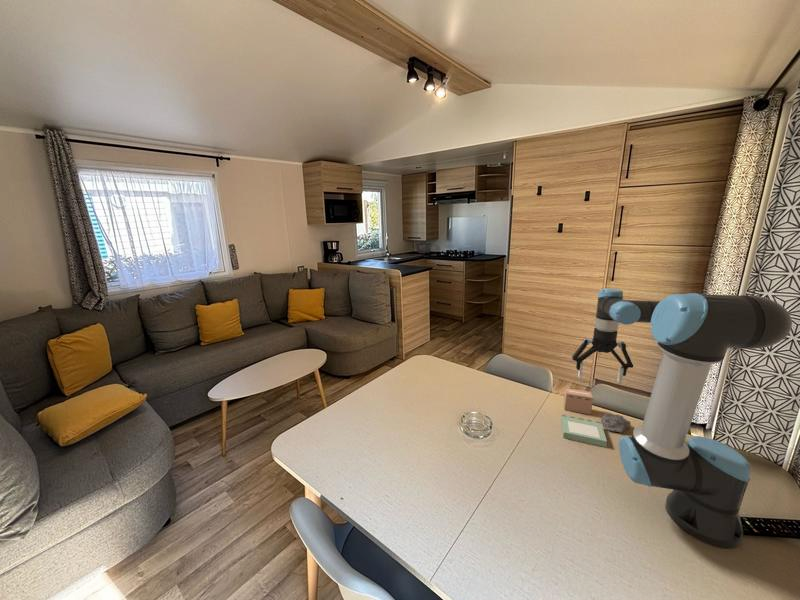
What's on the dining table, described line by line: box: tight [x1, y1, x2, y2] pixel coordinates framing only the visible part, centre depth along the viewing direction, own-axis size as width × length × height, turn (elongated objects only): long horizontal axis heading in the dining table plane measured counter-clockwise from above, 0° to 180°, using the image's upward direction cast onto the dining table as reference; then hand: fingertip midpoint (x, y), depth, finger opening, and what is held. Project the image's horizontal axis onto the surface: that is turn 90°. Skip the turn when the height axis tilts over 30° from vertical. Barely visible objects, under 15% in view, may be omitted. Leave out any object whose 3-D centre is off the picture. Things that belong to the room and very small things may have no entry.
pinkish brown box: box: [563, 387, 594, 415], centre depth 136 cm, size 5×10×8 cm, turn 67°
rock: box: [600, 412, 631, 434], centre depth 125 cm, size 9×11×4 cm
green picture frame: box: [560, 414, 608, 448], centre depth 121 cm, size 12×14×3 cm
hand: (599, 380), depth 124 cm, fingers open, 13 cm apart
